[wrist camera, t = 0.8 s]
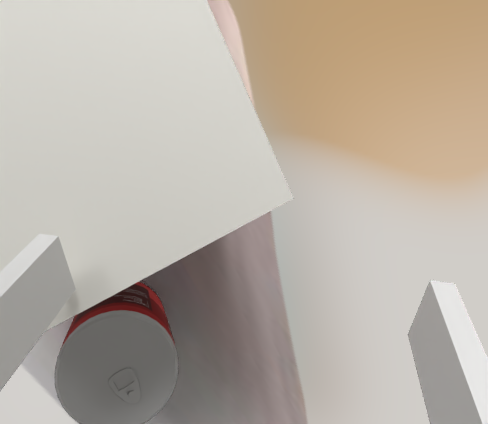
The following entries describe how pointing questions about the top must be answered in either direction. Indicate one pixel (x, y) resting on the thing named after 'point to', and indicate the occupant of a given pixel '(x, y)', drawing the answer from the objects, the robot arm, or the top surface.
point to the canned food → (118, 360)
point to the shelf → (124, 138)
